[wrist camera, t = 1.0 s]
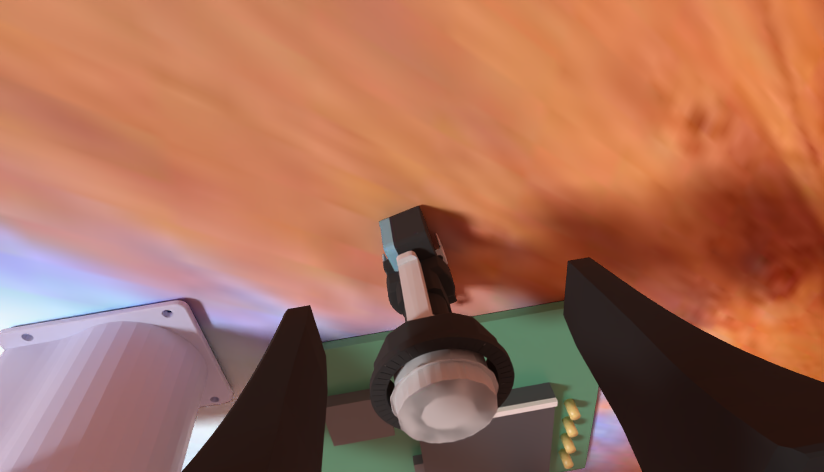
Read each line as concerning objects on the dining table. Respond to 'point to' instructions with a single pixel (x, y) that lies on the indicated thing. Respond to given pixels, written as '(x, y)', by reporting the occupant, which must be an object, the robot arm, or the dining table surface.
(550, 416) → the pad
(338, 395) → the circuit board
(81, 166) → the dining table surface
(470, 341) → the push button
